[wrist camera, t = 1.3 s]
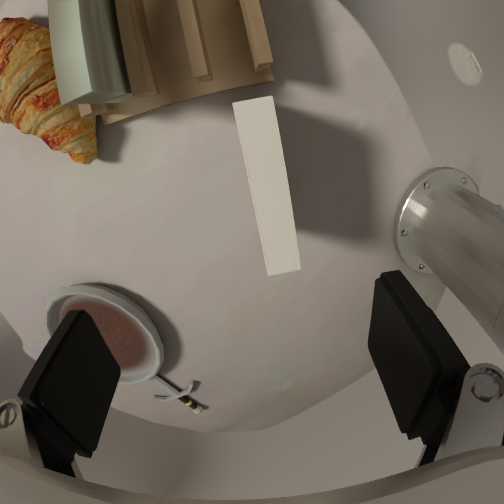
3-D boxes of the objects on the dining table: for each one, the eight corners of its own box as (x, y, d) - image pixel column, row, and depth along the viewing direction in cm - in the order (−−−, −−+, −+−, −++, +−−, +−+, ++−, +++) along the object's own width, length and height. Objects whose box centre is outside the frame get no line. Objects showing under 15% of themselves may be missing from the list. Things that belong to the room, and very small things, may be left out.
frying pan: (163, 429, 42) (24, 326, 30) (165, 415, 44) (33, 313, 33) (245, 402, 38) (84, 263, 26) (244, 386, 41) (94, 249, 29)
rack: (241, -46, 16) (244, -109, 6) (272, 81, 22) (296, 64, 13) (86, 1, 16) (25, -29, 7) (108, 125, 23) (42, 141, 13)
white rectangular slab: (259, 100, 23) (272, 95, 14) (281, 217, 28) (300, 269, 19) (234, 105, 23) (232, 102, 14) (258, 222, 28) (267, 275, 20)
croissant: (133, 133, 27) (140, 113, 20) (58, 199, 24) (39, 201, 17) (43, 12, 18) (34, -27, 11) (-26, 68, 15) (-51, 41, 8)
